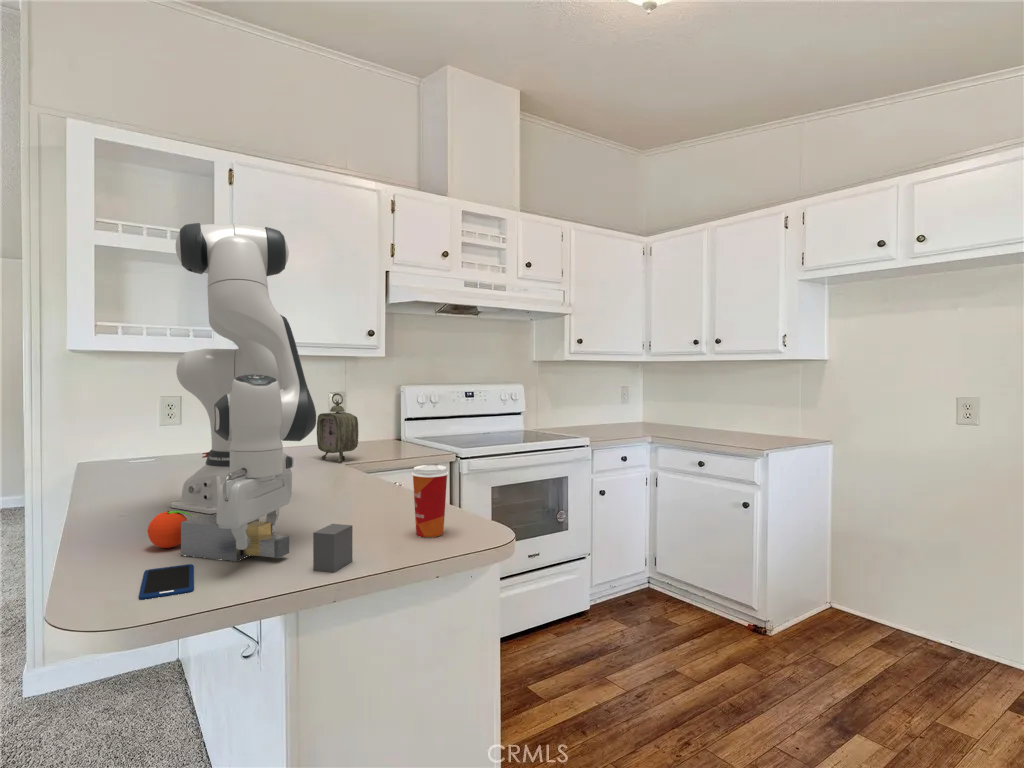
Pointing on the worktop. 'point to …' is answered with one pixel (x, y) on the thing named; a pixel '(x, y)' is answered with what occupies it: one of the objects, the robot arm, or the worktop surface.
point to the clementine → (166, 529)
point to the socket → (332, 547)
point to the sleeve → (208, 539)
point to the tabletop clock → (337, 431)
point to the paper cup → (429, 499)
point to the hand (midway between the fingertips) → (257, 540)
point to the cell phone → (167, 581)
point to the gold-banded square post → (265, 541)
